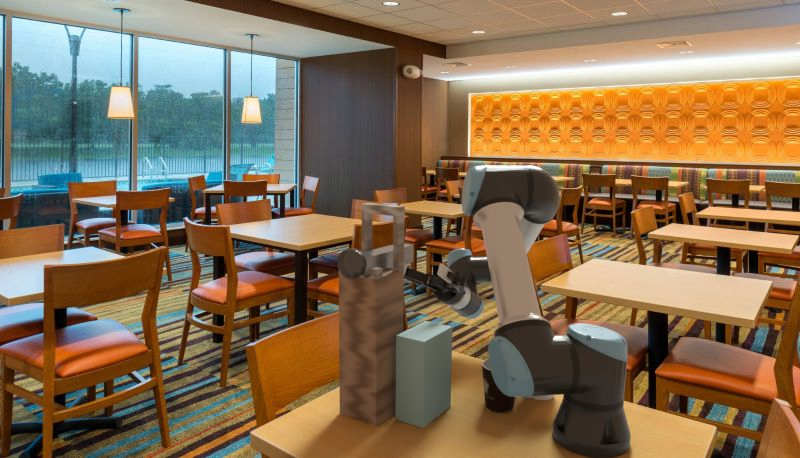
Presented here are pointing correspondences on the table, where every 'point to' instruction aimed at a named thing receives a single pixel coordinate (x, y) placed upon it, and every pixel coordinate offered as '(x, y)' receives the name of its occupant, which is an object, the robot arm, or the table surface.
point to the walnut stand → (372, 327)
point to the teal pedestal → (423, 373)
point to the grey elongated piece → (369, 260)
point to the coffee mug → (495, 393)
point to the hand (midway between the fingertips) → (415, 265)
